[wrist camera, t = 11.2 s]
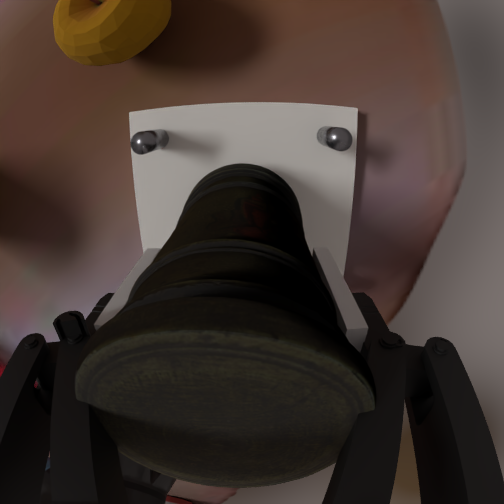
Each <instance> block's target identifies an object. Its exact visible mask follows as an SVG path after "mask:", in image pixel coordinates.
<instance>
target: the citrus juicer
mask: <svg viewBox="0 0 504 504" xmlns="http://www.w3.org/2000/svg"><path fill="white" fill-rule="evenodd" d="M165 504H192V503H191V502H189V501H186V500H183V499H179V498H175V497H172V496H169V495H167V497H166V502H165Z"/></svg>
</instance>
